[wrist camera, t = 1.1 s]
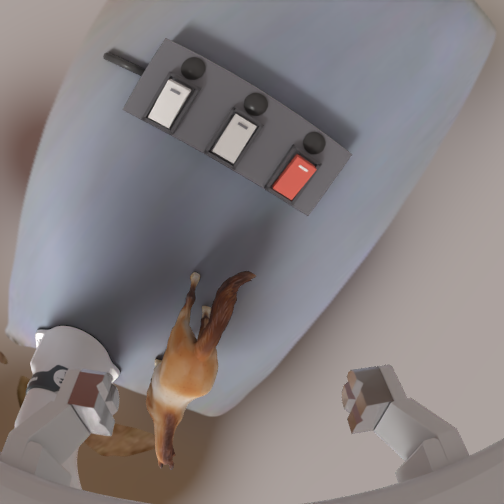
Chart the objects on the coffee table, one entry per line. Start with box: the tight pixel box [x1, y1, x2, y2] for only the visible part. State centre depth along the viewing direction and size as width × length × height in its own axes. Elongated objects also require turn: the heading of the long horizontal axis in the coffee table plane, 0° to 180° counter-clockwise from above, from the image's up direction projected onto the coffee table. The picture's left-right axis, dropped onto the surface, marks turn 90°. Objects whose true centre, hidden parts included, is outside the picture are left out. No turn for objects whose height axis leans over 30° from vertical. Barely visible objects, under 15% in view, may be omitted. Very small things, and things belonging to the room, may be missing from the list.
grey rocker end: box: [148, 79, 192, 128], centre depth 32 cm, size 5×3×2 cm, turn 147°
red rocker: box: [273, 154, 317, 200], centre depth 37 cm, size 5×3×2 cm, turn 147°
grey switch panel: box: [103, 38, 352, 216], centre depth 35 cm, size 10×34×4 cm, turn 57°
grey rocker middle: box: [212, 114, 257, 163], centre depth 34 cm, size 5×3×2 cm, turn 147°
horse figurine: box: [146, 271, 256, 470], centre depth 41 cm, size 31×8×21 cm, turn 152°
